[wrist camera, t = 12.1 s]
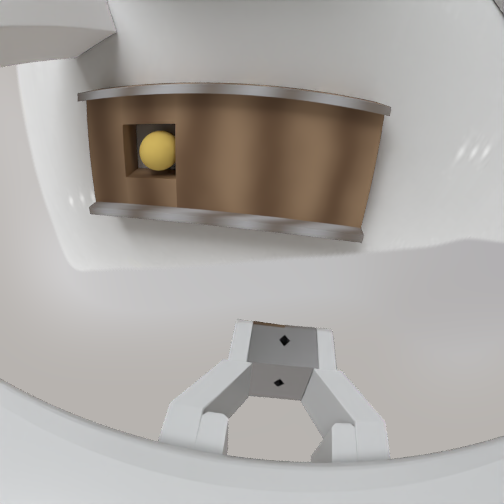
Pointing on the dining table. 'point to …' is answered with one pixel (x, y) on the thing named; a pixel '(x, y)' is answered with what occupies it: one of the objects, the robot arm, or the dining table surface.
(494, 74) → the dining table surface
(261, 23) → the dining table surface
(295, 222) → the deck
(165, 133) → the ball
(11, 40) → the milk
